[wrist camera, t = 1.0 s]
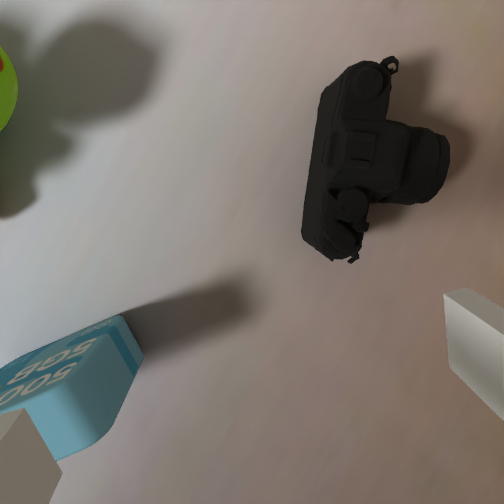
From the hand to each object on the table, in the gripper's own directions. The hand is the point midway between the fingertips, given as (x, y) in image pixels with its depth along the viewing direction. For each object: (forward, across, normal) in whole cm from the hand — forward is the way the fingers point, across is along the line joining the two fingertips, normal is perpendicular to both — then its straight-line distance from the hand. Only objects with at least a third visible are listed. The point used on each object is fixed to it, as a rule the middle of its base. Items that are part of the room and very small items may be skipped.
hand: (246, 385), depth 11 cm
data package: (+21, +17, +8) cm, 28 cm away
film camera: (+23, -12, -2) cm, 26 cm away
